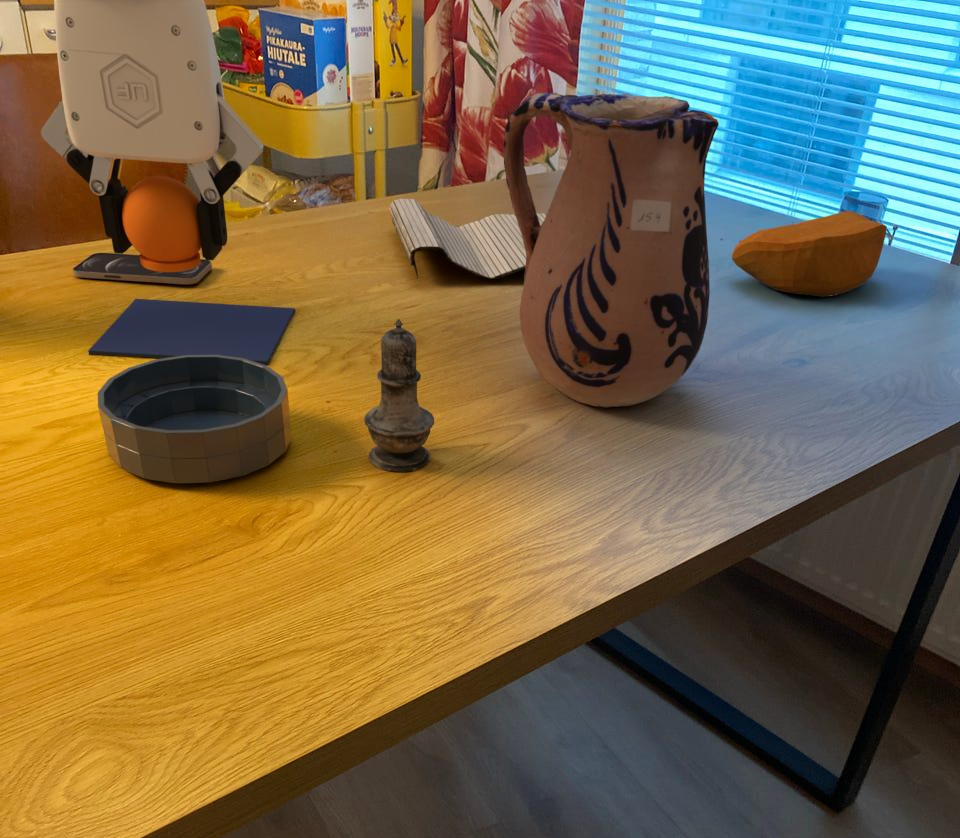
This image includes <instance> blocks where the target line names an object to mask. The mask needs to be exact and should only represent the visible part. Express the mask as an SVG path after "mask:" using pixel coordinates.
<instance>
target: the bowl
mask: <svg viewBox="0 0 960 838" xmlns="http://www.w3.org/2000/svg"><path fill="white" fill-rule="evenodd" d="M97 408H98V413H99V419H100V422H101V426H102V430H103V435H104V439H105V444H106V448H107V452H108V456H109V457H110V458H111V459H112V460H113V461H114V463H115V464H116V465H117V466H118V467H119V469H121V470H123V471H126V472H128V473H130V474H133V475H134V476H135V475H136V476H137V477H140V478H143V479H145V480H150V481H157V482H162V483H163V482H165V483H171V484H202V483H203V484H204V483H205V484H206V483H207V484H208V483H214V482H219V481H224V480H229V479H233V478H239V477H242V476H246V475H248V474H251V473H253V472H256V471H258V470H261V469H263V468H265V467H268V466H270V465H271V464H272V463H273V462H274V461H276V460H277V459H278V458H279V457H281V456H282V455H283V454H285V452H286V451H287V450H288V446H289V445H290V442H291V439H292V425H291V424H292V423H291V414H290V403H289V389H288V387H287V385H286V382H285V379H284V376H282V375H281V374H279V373H278V372H277V371H275V369H273V368H271V367H270V366H268V365H263V364H260V363H257V362H254V361H251V360H248V359H244V358H237V357H230V356H223V355H183V356H176V357H169V358H155V359H153V360H149V361H146V362H143V363H140V364H136V365H132V366H130V367H127V368H126V369H124V370H122V371H120V372H119V373H117V374H115V375H113V376H111V377H110V378H108V379H107V380H106V381H105V383H104V384H103V385H102V386H101V388H100V389H99V390H98V391H97Z"/></svg>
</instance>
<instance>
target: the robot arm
mask: <svg viewBox="0 0 960 838" xmlns="http://www.w3.org/2000/svg"><path fill="white" fill-rule="evenodd" d="M206 6H207V5H206V3H205V0H53V9H54V10H53V11H54V13H53V14H54V29H55V43H56V54H57V55H56V56H57V65H58V74H59V82H60V90H61V97H62V99H61V101H60V102H59V104H58V105H57V106H56V108H55V109H54V110H53V112H52V113H51V115H50V116H49V118H48V119H47V120H46V122H45V123H44V124H43V126H42V128H41V129H40V136H41V138H42V139H43V140H44V142H46V143H47V144H48V145H49V146H50V148H52V149H53V150H54V151H55V152H56V153H57V154H59V156H61V157H62V158H64V159H65V160H66V162H67V164H68V166H69V167H71V169H72V170H74V171H75V172H76V174H78V175H79V177H81V178H82V179H83V180H84V181H85V182H86V183H87V184H88V186H89V190H90V191H91V192H92V193H93V194H94V195H95V196H98V200H99V201H98V202H99V207H100V212H101V217H102V223H103V229H104V233H105V236H106V237H107V238H110V239H111V244H112V250H113V253H116V254H125V253H126V252H127V251H128V250H129V249H130V248H131V247H133V245H132V244H131V242H130V241H129V239H128V237H127V235H126V233H125V230H124V227H123V223H122V207H123V203H124V200H125V198H126V196H127V194H128V192H129V190H128V189H127V186H126V185H122V181H121V180H120V177H121V173H122V167H123V163H124V160H130V161H131V160H132V161H145V162H158V163H172V164H173V163H174V164H186V165H187V167H188V169H189V171H190V173H191V175H192V177H193V179H194V182H195V184H196V186H197V189H198V190H199V195H200V202H199V203H198V204H197V216H198V224H199V232H200V240H201V257H202V259H206V260H210V261H214V260H216V258H217V256H218V255H219V254H220V253H221V251H222V250H223V247H225V246H226V245H227V244H228V227H227V219H226V209H225V200H224V199H225V198H224V196H225V194H226V193H227V192H228V191H229V190H230V188H232V186H234V184H235V183H236V182H237V181H238V180H239V179H240V177H241V176H242V175H243V174H244V173H245V172H246V171H247V169H249V168H250V166H251V165H252V164H253V163H254V162H255V161H256V160H257V159H258V157H259V156H261V154H262V153H263V152H264V148H265V146H264V143H263V141H262V140H261V138H259V137H258V135H256V133H255V132H254V131H253V130H252V129H251V128H250V127H249V126H248V124H247V123H246V122H245V121H244V120H243V119H242V118H241V117H240V115H239V114H238V113H237V112H236V111H235V110H234V109H233V108H232V106H230V104H229V103H228V102H227V101H226V99H225V91H224V85H223V79H222V74H221V73H222V72H221V69H220V64H219V58H218V53H217V48H216V43H215V39H214V35H213V30H212V25H211V22H210V17H209V14H208V10H207V7H206ZM228 140H230V141H231V142H232V143H233V145H234V146H235V147H234V148H235V152H234V154H233V155H232V156H231V157H230V158H229V159H228V160H227V162H225V164H224V165H222V167H221V166H220V164H219V160H218V159H217V157H216V153H217V152H218V150H219V149H221V148H222V147H224V146H225V145H226V144H227V143H228Z"/></svg>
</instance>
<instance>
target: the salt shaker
mask: <svg viewBox="0 0 960 838" xmlns="http://www.w3.org/2000/svg"><path fill="white" fill-rule="evenodd" d="M393 325H394V326H395V327H394V328H393V329H392V328H391V329H390V330H388V331H386V332H385V333H384V334H383V335H382V337H381V341H380V348H381V349H380V357H381V361H380V362H381V369H380V370H379V371H377V373H376V378H377V379H378V381H379V382H380V395H381V396H380V401H379V405H378V406H375V407H373V408H371V409H370V410H368V411H367V412H366V413H365V414H364V418H363V422H364V424H365V426H366V428H367V431H368V433H369V436H370V438H371V440H372V442H373V443H374V444H375V445H376V446H374V447H373V448H371V450H370V451H369V452H368V460H369V462H370V463H371V465H373V466H374V467H375V468H378V469H380V470H383V471H386V472H390V473H391V472H392V473H410V472H414V471H418V470H420V469H423V468H424V467H426V466H427V465H428V464H429V463H430V461H431V453H430V451H429V450H428V449H427V448H426V447H424V445H425V443H426V442H427V440H428V438H429V436H430V434H431V429H432V428H433V426H434V425H435V416H434V415H433V413H432V412H430V411H429V409H427V408H424V407H422V406H420V404H419V401H418V382H419V381H420V380H421V378H422V374H421V373H420V371H419V370H418V369H417V339H416V337H415V335H414V334H413V333H411V332H410V331H409V330H406V329H405V328H403V327H402V326H403V325H404V323H403V322H402V321H401V320H400V318H397V320H396V321H395V322H394V324H393Z"/></svg>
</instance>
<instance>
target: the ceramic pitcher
mask: <svg viewBox="0 0 960 838" xmlns="http://www.w3.org/2000/svg"><path fill="white" fill-rule="evenodd" d="M689 109H690V103H689V102H688V100H685V99H680V98H676V97H674V96H667V95H666V96H644V95H632V94H630V93H624V94H623V93H622V94H617V93H616V94H615V93H609V94H608V93H607V94H606V93H601V94H587V95H577V94H565V95H563V94H560V93H558V92H553V93H550V92H549V93H548V92H538V93H535V94H534V95H532V96H530V97H528V98H526V99H524V100H523V101H522V102H521V103H520V104H519V105H518V106H517V107H516V108H514V111H513V112H512V113H511V114H510V116H509V118H508V120H507V123H506V126H505V129H504V132H503V134H504V135H503V154H502V155H503V165H504V166H503V167H504V174H505V180H506V181H505V182H506V185H507V189H508V191H509V197H510V201H511V205H512V209H513V212H514V214H515V215H516V218H517V222H518V225H519V228H520V231H521V234H522V237H523V243H524V247H525V250H526V258H527V259H526V265H525V269H524V272H523V273H524V274H523V280H524V281H523V286H522V292H521V298H520V305H519V321H520V331H521V334H522V340H523V342H524V345H525V348H526V351H527V353H528V356H529V358H530V359H531V361H532V363H533V364H534V366H535V368H536V370H537V371H538V373H540V375H541V376H542V377H543V379H545V381H546V382H547V383H549V384H550V385H551V386H552V387H553V388H554V389H556V390H557V391H559V392H561V393H562V394H563V395H565V396H567V397H569V399H572V400H574V401H577V402H578V403H581V404H584V405H589V406H593V407H602V408H612V407H616V408H619V407H629V406H635V405H637V404H640V403H641V404H642V403H644V402H647V401H649V400H651V399H653V398H655V397H658V396H659V395H660V394H662V393H663V392H665V391H666V390H668V389H669V388H670V387H672V386H673V385H675V383H677V382H678V381H679V380H680V379H681V378H682V377H683V376H684V374H685V373H686V372H687V371H688V370H689V368H690V367H691V365H692V364H693V362H694V361H695V359H696V358H697V355H698V354H699V352H700V351H701V346H702V343H703V340H704V337H705V333H706V328H707V325H708V319H709V318H708V317H709V307H710V293H711V292H710V261H709V247H708V246H709V245H708V233H707V216H706V198H705V181H706V180H705V179H706V178H705V176H706V165H707V157H708V154H709V152H710V148H711V145H712V142H713V140H714V137H715V135H716V132H717V129H718V128H719V126H720V125H719V120H718V118H715V117H714V116H713V115H712V114H710V113H709V112H705V111H702V110H696V109H691V110H689ZM538 116H546V117H548V118H551V119H552V121H554V122H555V123H557V124H558V125H560V126H561V128H563V130H564V136H565V138H566V145H567V148H568V150H569V157H568V160H567V163H566V166H565V169H564V170H563V172H562V174H561V176H560V177H561V178H560V180H559V182H558V185H557V187H556V189H555V192H554V195H553V197H552V199H551V203H550V205H549V208H548V210H547V212H546V214H547V215H546V217H545V220H544V222H543V223H542V225H541V226H540V223H539V219H538V216H537V214H536V213H537V211H536V206H535V203H534V199H533V195H532V191H531V188H530V186H529V183H528V182H529V181H528V177H527V171H526V168H525V166H526V165H525V164H526V163H525V150H524V149H525V148H524V146H525V145H524V135H525V130H526V128H527V127H528V125H529V123H530V122H531V120H532V119H534V118H536V117H538Z"/></svg>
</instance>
